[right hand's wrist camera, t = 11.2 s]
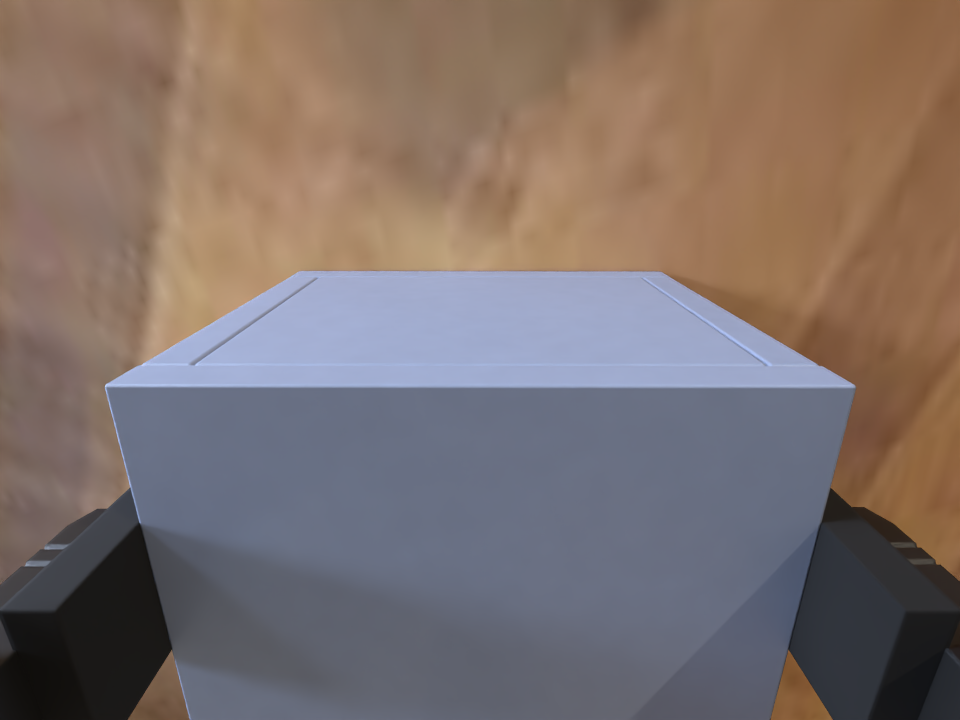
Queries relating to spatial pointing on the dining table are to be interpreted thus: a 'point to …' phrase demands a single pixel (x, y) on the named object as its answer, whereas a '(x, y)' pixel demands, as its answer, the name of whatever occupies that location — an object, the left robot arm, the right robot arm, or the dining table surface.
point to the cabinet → (480, 499)
